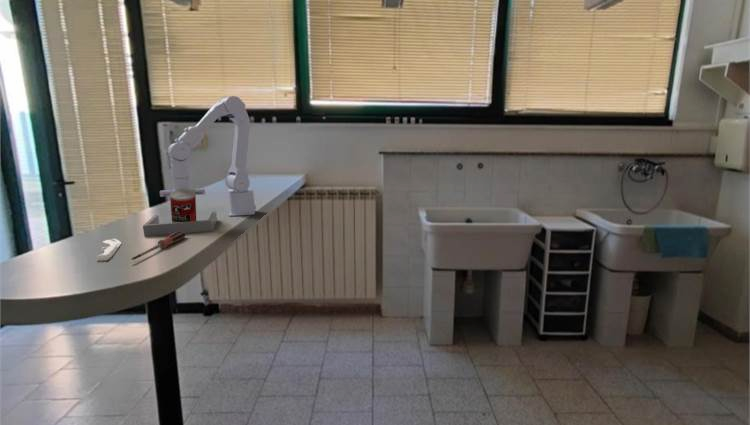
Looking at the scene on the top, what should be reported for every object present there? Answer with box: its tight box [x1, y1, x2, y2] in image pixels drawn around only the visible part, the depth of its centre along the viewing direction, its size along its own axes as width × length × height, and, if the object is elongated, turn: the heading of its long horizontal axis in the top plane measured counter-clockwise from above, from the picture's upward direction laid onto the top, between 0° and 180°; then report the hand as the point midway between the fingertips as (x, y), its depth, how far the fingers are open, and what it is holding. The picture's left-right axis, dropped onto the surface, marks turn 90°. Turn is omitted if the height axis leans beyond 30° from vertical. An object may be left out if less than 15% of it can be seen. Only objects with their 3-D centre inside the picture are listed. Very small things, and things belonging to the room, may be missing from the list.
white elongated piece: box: [96, 238, 122, 262], centre depth 120 cm, size 30×2×8 cm
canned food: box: [169, 190, 197, 223], centre depth 140 cm, size 8×8×11 cm
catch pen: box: [142, 210, 218, 237], centre depth 139 cm, size 20×15×4 cm
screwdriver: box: [130, 231, 187, 261], centre depth 116 cm, size 25×3×3 cm, turn 175°
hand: (185, 215), depth 146 cm, fingers closed, pressing on canned food
